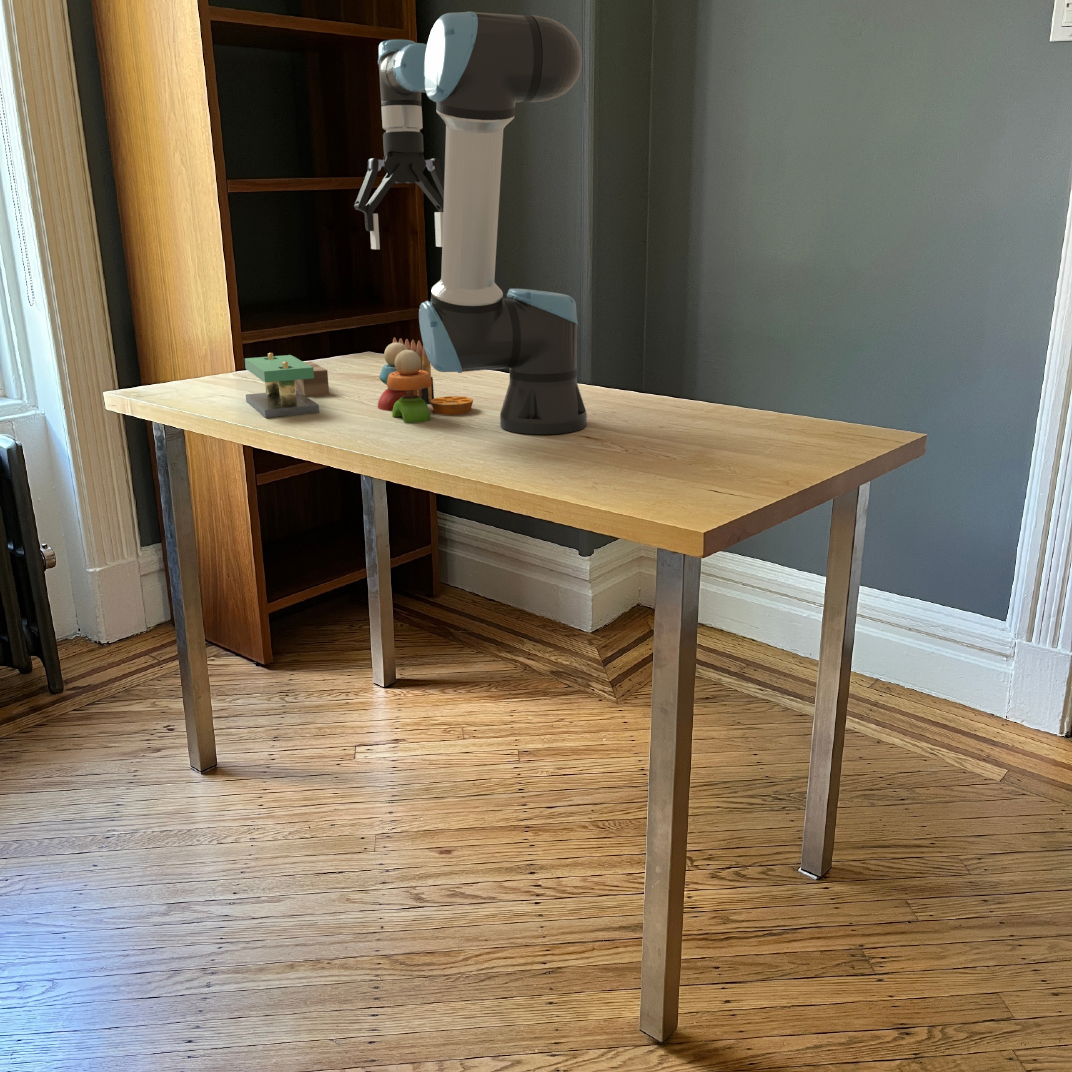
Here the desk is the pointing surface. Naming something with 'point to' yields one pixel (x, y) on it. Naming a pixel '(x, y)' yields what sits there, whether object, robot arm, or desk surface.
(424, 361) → the ammunition clip
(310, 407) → the chassis
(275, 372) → the board
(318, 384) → the stand
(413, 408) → the colourful wooden toy set
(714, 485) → the desk surface
